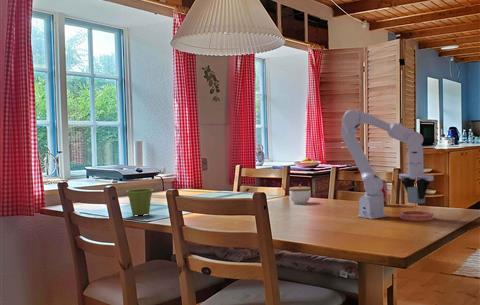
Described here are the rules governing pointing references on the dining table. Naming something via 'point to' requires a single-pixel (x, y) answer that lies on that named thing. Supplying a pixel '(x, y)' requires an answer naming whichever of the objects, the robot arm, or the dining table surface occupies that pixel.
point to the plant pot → (140, 200)
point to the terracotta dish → (416, 215)
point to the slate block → (414, 195)
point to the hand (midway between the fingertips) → (416, 198)
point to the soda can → (384, 191)
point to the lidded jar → (300, 194)
